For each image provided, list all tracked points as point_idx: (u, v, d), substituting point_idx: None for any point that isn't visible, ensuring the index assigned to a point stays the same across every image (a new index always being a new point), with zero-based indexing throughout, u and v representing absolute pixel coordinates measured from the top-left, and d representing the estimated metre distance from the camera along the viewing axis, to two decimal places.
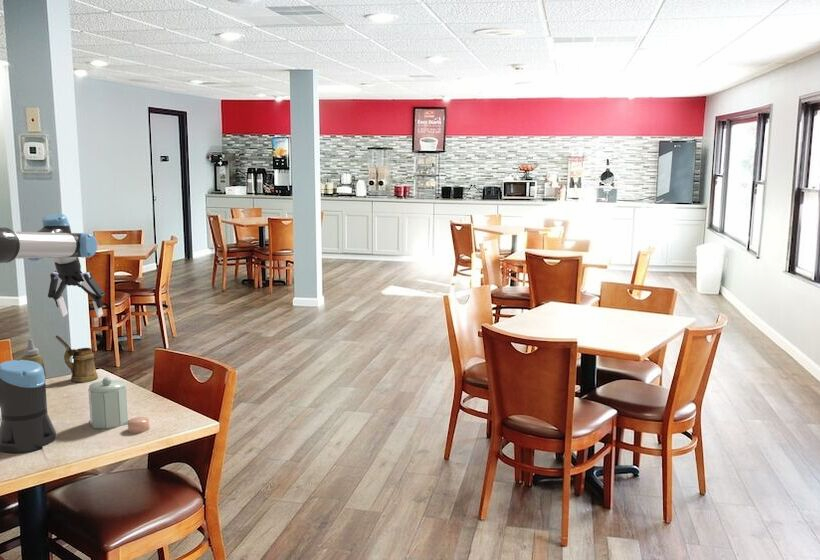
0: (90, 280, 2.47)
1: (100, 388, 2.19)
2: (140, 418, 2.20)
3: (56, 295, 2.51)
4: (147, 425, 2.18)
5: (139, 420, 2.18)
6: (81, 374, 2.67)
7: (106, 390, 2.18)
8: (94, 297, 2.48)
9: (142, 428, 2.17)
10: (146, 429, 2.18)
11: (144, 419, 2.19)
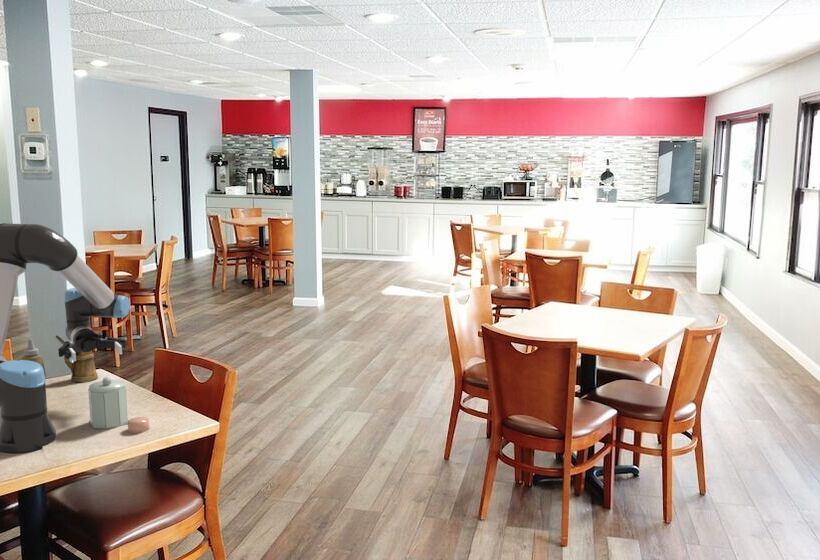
0: None
1: (100, 388, 2.19)
2: (140, 418, 2.20)
3: (69, 347, 2.32)
4: (147, 425, 2.18)
5: (139, 420, 2.18)
6: (81, 374, 2.67)
7: (106, 390, 2.18)
8: (117, 341, 2.40)
9: (142, 428, 2.17)
10: (146, 429, 2.18)
11: (144, 419, 2.19)
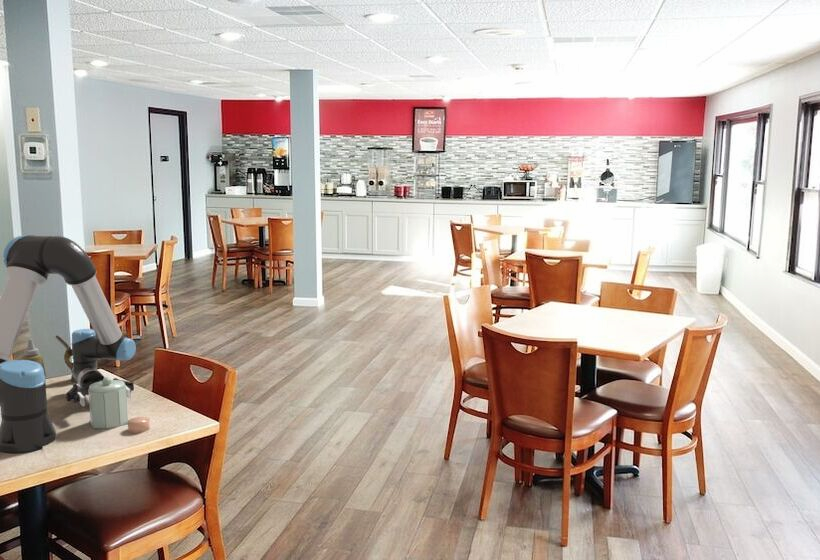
0: None
1: (100, 388, 2.19)
2: (140, 418, 2.20)
3: (77, 391, 2.31)
4: (148, 425, 2.18)
5: (139, 420, 2.18)
6: None
7: (106, 390, 2.18)
8: (125, 384, 2.39)
9: (143, 428, 2.17)
10: (146, 429, 2.18)
11: (145, 419, 2.19)
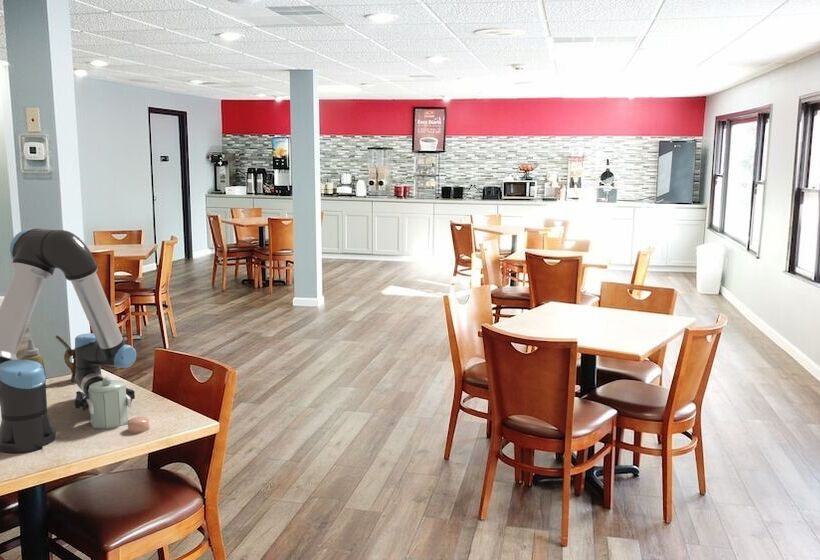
0: None
1: (100, 388, 2.19)
2: (140, 418, 2.20)
3: (85, 398, 2.24)
4: (148, 425, 2.18)
5: (139, 420, 2.18)
6: None
7: (106, 390, 2.18)
8: None
9: (143, 428, 2.17)
10: (146, 429, 2.18)
11: (144, 419, 2.19)
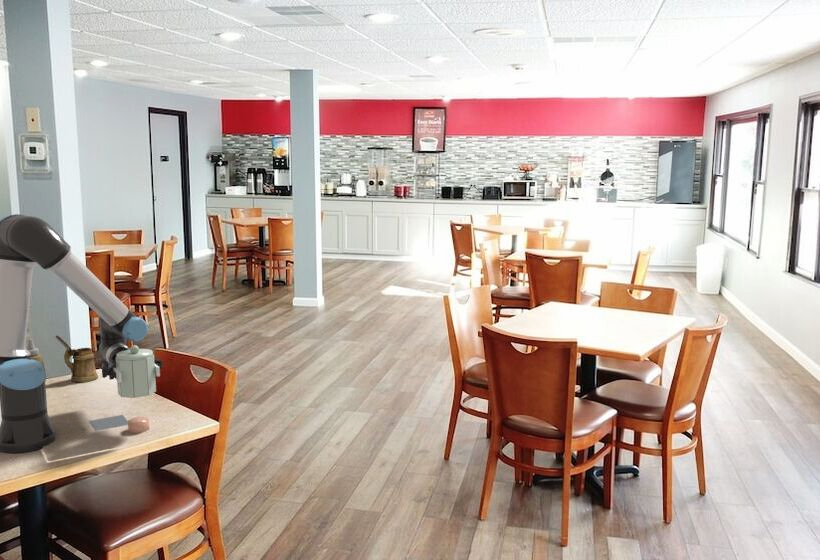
0: None
1: (128, 356, 2.11)
2: (139, 418, 2.20)
3: (112, 367, 2.16)
4: (148, 425, 2.18)
5: (139, 420, 2.18)
6: (81, 374, 2.67)
7: (134, 358, 2.11)
8: None
9: (143, 428, 2.17)
10: (147, 429, 2.18)
11: (144, 419, 2.19)
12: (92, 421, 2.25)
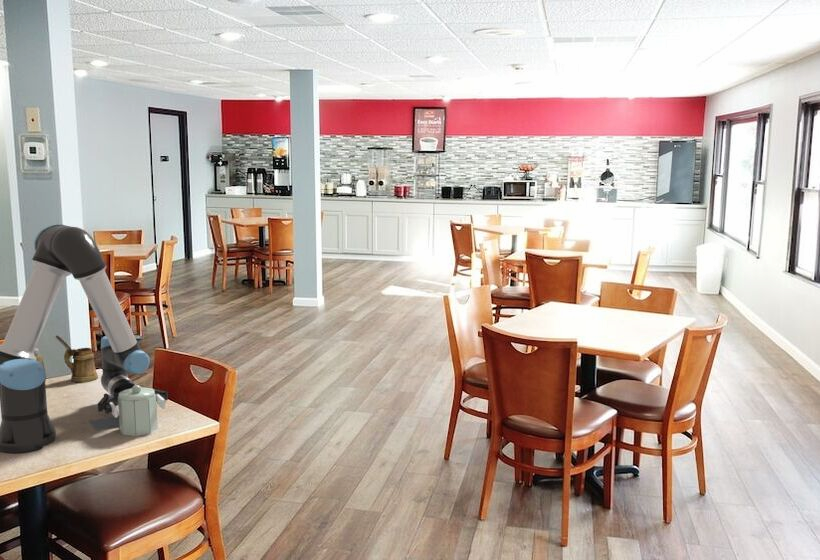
0: None
1: (130, 396, 2.13)
2: None
3: (109, 401, 2.18)
4: None
5: None
6: (81, 374, 2.67)
7: (136, 398, 2.13)
8: (158, 393, 2.25)
9: None
10: None
11: None
12: (92, 421, 2.25)
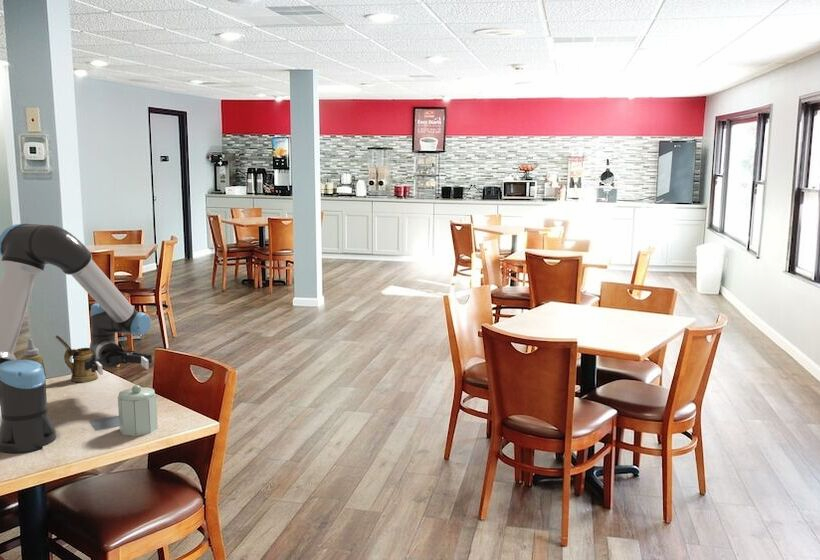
0: None
1: (130, 396, 2.13)
2: None
3: (95, 360, 2.29)
4: None
5: None
6: (81, 374, 2.67)
7: (136, 398, 2.13)
8: (143, 356, 2.37)
9: None
10: None
11: None
12: (92, 421, 2.25)
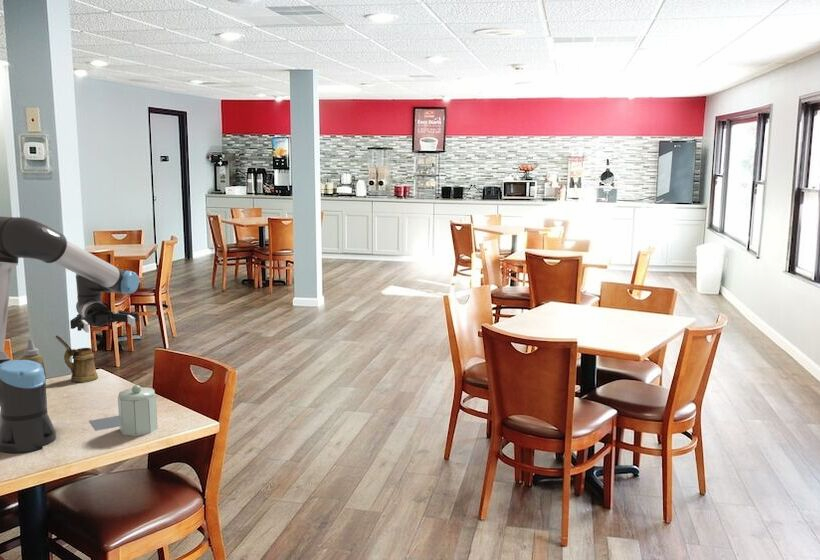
0: None
1: (130, 396, 2.13)
2: None
3: (81, 319, 2.27)
4: None
5: None
6: (81, 374, 2.67)
7: (136, 398, 2.13)
8: (129, 314, 2.35)
9: None
10: None
11: None
12: (92, 421, 2.25)
